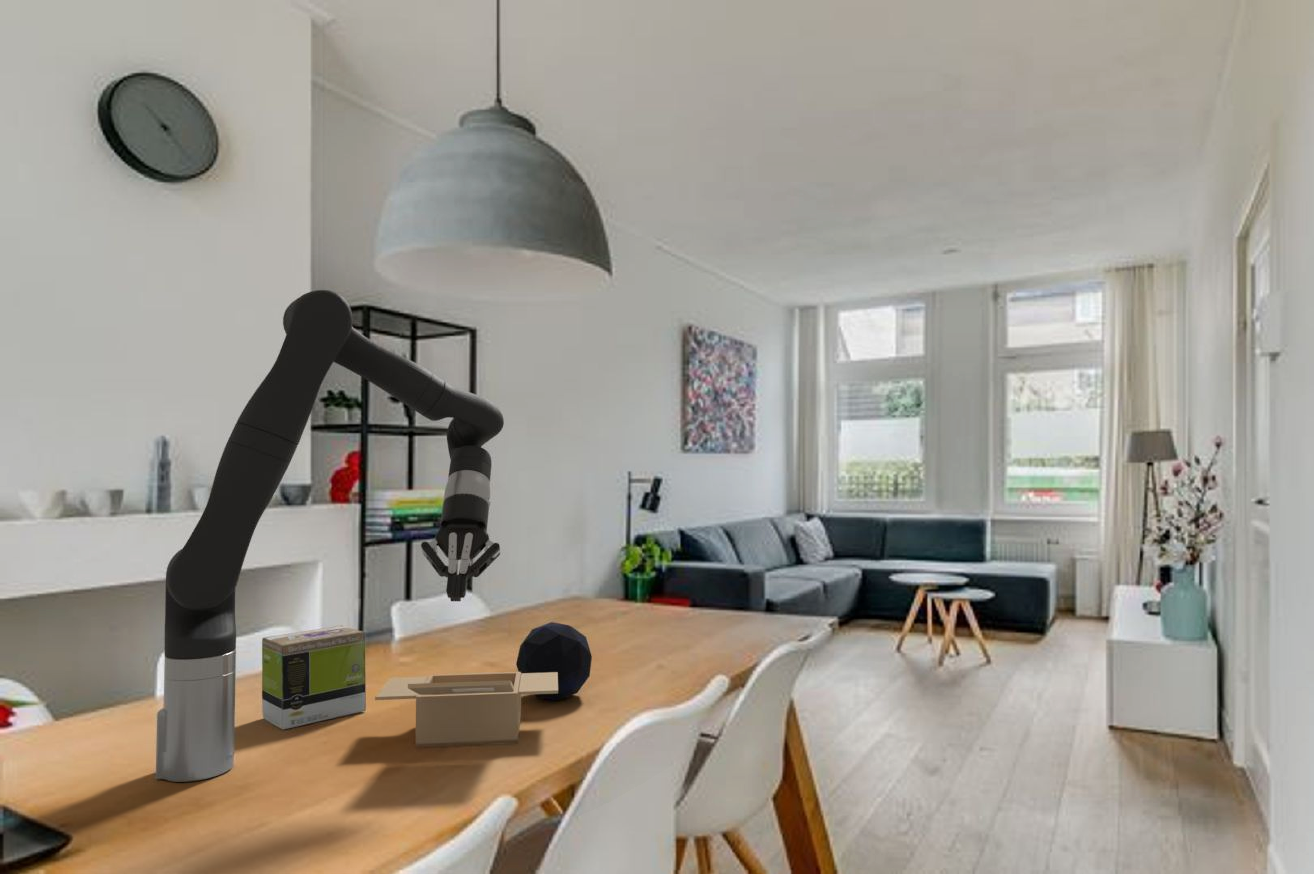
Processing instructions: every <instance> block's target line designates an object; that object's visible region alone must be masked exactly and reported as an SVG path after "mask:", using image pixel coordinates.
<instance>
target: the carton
mask: <svg viewBox="0 0 1314 874" xmlns="http://www.w3.org/2000/svg"><path fill="white" fill-rule="evenodd" d="M506 680H511V682H512V684H513V686H514V691H508V692H480V693H453V694H426V695H419V694H418V693H416V692H414V691H412V690H410V689H408V684H420V683H449V682H478V681H506ZM555 693H558V672H549V673H521V672H518V671H507V672H504V671H503V672H479V673H478V672H475V673H473V672H472V673H471V672H470V673H448V674H446V673H445V674H443V673H442V674H440V673H439V674H428V676H408V677H403V676H402V677H389V679H388V680H387V681H386V682H385V684H384V685H383V686H382V687H381V689H380V690H379V692H378V693H377V694H376V695H375V697H374V700H375V701H388V700H390V701H391V700H415V749H417V748H418V749H419V748H420V749H421V748H436V747H437V748H440V747H442V748H443V747H445V748H446V747H462V746H463V747H464V746H483V745H485V746H486V745H488V746H489V745H490V746H491V745H507V744H518V741H519V733H520V727H521V720H522V719H521V717H522V715H521V713H522V695H526V696H527V695H528V696H529V695H534V694H555Z"/></svg>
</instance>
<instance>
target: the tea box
mask: <svg viewBox="0 0 1314 874" xmlns="http://www.w3.org/2000/svg"><path fill="white" fill-rule="evenodd" d="M365 635H366V632H364V631H362V630H357V629H354V628H351V627H347V626H344V625H336V626H330V627H324V628H318V629H310V630H304V631H297V632H290V633H286V634H284V633H283V634H279V635H278V634H277V635H271V636H270V635H269V636H266V637H262V640H261V641H262V642H261V653H262V654H261V656H262V657H261V665H262V666H261V667H262V668H261V673H262V674H261V675H262V676H261V682H262V683H261V698H262V700H261V706H262V707H261V709H262V711H261V712H262V718H263V719H264V720H265V721H267V722H268V723H270V724H272V725H273V726H276V727H277V728H278V729H281V730H288V729H292V728H297V727H301V726H306V725H309V724H314V723H317V722H322V721H326V720H331V719H336V718H339V717H344V716H349V715H353V714H357V713H362V712H366V710H367V704H366V703H367V701H366V700H367V698H366V697H367V696H366V694H367V692H366V681H367V678H366V674H367V673H366V636H365Z"/></svg>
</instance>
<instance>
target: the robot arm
mask: <svg viewBox="0 0 1314 874" xmlns="http://www.w3.org/2000/svg"><path fill="white" fill-rule="evenodd" d="M283 313H284V314H283V317H282V326H283V330H284V332H285V334H286V335H285V337H284V340H283V343H282V346H281V349H280V351H279V353H278V356H277V357H276V359H275V362H274V364H273V365H272V367H271V369H270V370H269V372H268V373H267V375H266V376H265V378H264V379H263V380H262V382H261V383H260V384H259V385H258V387H257V388H256V390H255V391H254V393H252V396H251V397H250V399H249V400H248V402H247V403H246V405H245V406H244V408H243V410H241V411H242V412H241V413H240V415H239V416H238V418H237V420H236V423H234V426H233V429H232V431H231V434H230V436H229V438H228V440H227V442H226V443H225V446H224V448H223V451H222V454H221V457H220V460H219V462H218V466H217V468H216V471H215V474H214V478H213V481H212V486H211V489H210V493H209V497H208V499H207V503H206V505H205V507H204V509H203V511H202V514H201V516H200V518H199V520H198V522H197V523H196V525H195V527H194V529H193V531H192V532H191V534H190V536H189V537H188V539H187V540H186V543H185V544H184V546H183V548H181V549H179V550H178V551H177V552H176V553H175V554H174V555H173V556H172V557H171V559H170V561H169V563H168V565H167V568H166V572H165V598H164V600H165V603H164V604H165V605H164V606H165V610H164V613H165V614H164V653H163V654H164V666H163V667H164V668H163V670H164V671H163V672H164V673H163V675H164V676H163V708H161V709H159V710H158V712H157V713H156V736H155V738H156V740H155V741H156V742H155V746H156V747H155V780H166V781H168V782H176V783H177V782H183V783H184V782H193V781H194V782H195V781H202V780H206V779H211V778H212V777H213V778H214V777H216V776H217V777H218V776H220V775H222V774H224V773H226V772H228V771H230V770H231V769H232V768H233V767H234V766H235V765H234V764H235V728H236V727H235V723H236V722H235V721H236V720H235V719H236V718H235V717H236V713H235V712H236V674H237V673H236V669H237V668H236V665H237V664H236V663H237V659H236V658H237V657H236V655H237V649H236V648H237V628H236V627H237V625H236V587H237V586H238V582H239V578H240V576H241V572H242V568H243V565H244V562H245V559H246V556H247V552H248V550H249V548H250V547H249V546H250V544H251V541H252V538H253V535H254V532H255V530H256V527H257V526H258V523H259V521H260V520H261V518H262V516H263V514H264V512H265V510H266V509H267V507H268V505H269V504H270V502H271V500H272V498H273V497H274V494H276V491H277V489H278V488H279V486H280V484H281V482H282V480H283V478H284V476H285V474H286V472H287V471H288V468H289V466H290V464H291V462H292V460H293V457H294V454H295V452H296V450H297V448H298V446H299V444H300V441H301V439H302V437H303V433H304V432H305V428H306V427H307V423H308V421H309V419H310V416H311V413H312V410H313V408H314V404H315V402H316V400H317V396H318V393H319V391H320V388H321V385H322V384H323V381H324V379H325V377H326V375H327V373H328V372H329V370H330V369H331V367H332V366H333V363H335V364H337V365H339V366H341V367H343V368H344V369H347V370H348V371H351V372H353V373H354V374H356V375H358V376H360V377H362V378H364V379H365V380H367V381H369V382H370V383H371V384H373V385H374V386H375V387H378V388H379V389H380V390H382V391H384V392H386V393H387V394H389V395H390V396H391V397H393V398H395V399H396V400H397V401H399V402H401V403H402V404H403V405H406V406H407V407H408V408H410V409H411V410H414V411H415V412H416V413H418V414H419V415H421V416H422V417H424V418H425V419H428V420H430V421H432V422H436V421H437V422H438V421H441V420H444V419H447V418H450V419H451V421H450V423H448V427H447V430H446V441H447V448H448V456H449V459H450V463H449V469H448V478H447V482H446V485H445V489H444V493H443V494H444V495H443V502H442V508H441V509H442V510H441V518H440V525H439V529H438V531H437V532H436V534H435V538H434V539H431V540H430V541H429V542H428V541H422V542H421V544H420V549H421V550H422V551H421V552H422V554H423V556H424V557H425V559H426V560H427V561H428V562H429V564H430V565H431V567H432V568H433V569H434V570H435V572H436V573H437V575H438V576H439V577H445V578H447V580H446V581H447V582H446V588H445V589H446V590H445V592H446V597H447V598H449V599H450V602H461V601H462V599H464V598H465V597H466V593H467V586H468V585H467V584H468V580H469V579H470V578H478V577H480V576H481V574H483V573H484V572H485V570H487V569H488V567H490V565H491V564H492V563H494V561H495V560H497V558H498V557H499V556H500V555H501V547H500V544H499V542H493V541H491V540H490V536H489V535H490V534H489V533H488V524H489V523H488V522H489V521H488V520H489V513H490V512H489V511H490V505H491V485H490V484H491V472H492V457H491V454H490V452H488V450H486V449H485V448H484V447H482V446H483V445H485V444H486V443H487V442H489V441H491V440H492V439H493V438H494V437H496V436H497V435H499V434H500V432H501V431H502V430H503V428H504V420H505V419H504V415H503V413H502V412H501V410H500V409H499V407H498V406H496V404H495V403H494V402H492V401H490V400H489V399H487V398H485V397H483V396H481V395H478V394H475V393H472V392H470V391H467V390H465V389H462V388H459V387H456V386H452V385H450V384H449V383H448V382H446V381H444V380H443V379H441V378H440V377H439V376H438V375H436V374H434V373H432V372H431V371H429V370H428V369H426V368H425V367H424V366H422V365H420V364H419V363H417V362H415V361H413V360H410V359H409V358H406V357H404V356H402V355H400V354H397V353H396V352H393V351H392V350H389V349H387V348H385V347H383V346H381V345H379V344H378V343H376V342H375V341H373V340H371V339H369V338H368V337H366V336H365V335H363V334H362V333H361V332H360V331H358V330H357V329H356V328H354V327H353V323H354V320H353V313H352V309H351V307H350V304H349V303H348V302H347V300H346V298H345V297H343V296H342V295H341V294H339V293H337V292H335V291H333V290H327V289H318V290H312V291H309V292H307V293H306V292H305V293H304V294H302V295H300V296H299V297H297V298H296V299H295V300H293V301H291V303H290V304H289V305H288V306H287V307H286V309H285V311H284V312H283ZM438 547H439V549H440V550H441V552H442V553H443V555H444V556H445V557H446V558H447V559H448V563H447V564H448V565H446V564H445V563H444V562H443V561H442V559H441V557H440V556H439V555H438ZM483 550H484V553H482V554H481V555H480V556H479V554H480V553H481V552H483ZM478 556H479V557H478ZM476 557H478V558H477V559H476V560H475V561H474V562H473V559H475V558H476ZM459 561H460V565H459Z"/></svg>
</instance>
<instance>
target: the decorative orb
mask: <svg viewBox="0 0 1314 874" xmlns="http://www.w3.org/2000/svg"><path fill="white" fill-rule="evenodd" d="M518 649H519V650H518V654H517V659H516V663H515V664H516V668H517V672H521V673H549V672H558V693H555V694H533V695H534V696H535V697H536V698H541V699H544V700H545V699H546V700H551V701H555V702H558V701H561V700H563V699H566V698H569V697H570V696H572V695H575V694H577V693H578V692H579V691H580V690H581V688H582V687H583V686H584V684H585V683H586V682H587V680H588V679H589V677H590V675H591V667H592V660H593V659H592V657H593V656H592V653H591V649H590V645H589V642H588V639H587V636H585V634H583V633H581V632H580V631H578V629H576V628H574V627H573V626H572V625H569V624H565V623H559V622H553V621H551V622H548V623H546V624H542V625H540V626H537V627H534V628H532V629H531V630H530V632H529V633H528V634H527V635H526V637H525V638H524V640H523V641H522V642H521V644H520V645H519V648H518Z"/></svg>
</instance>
